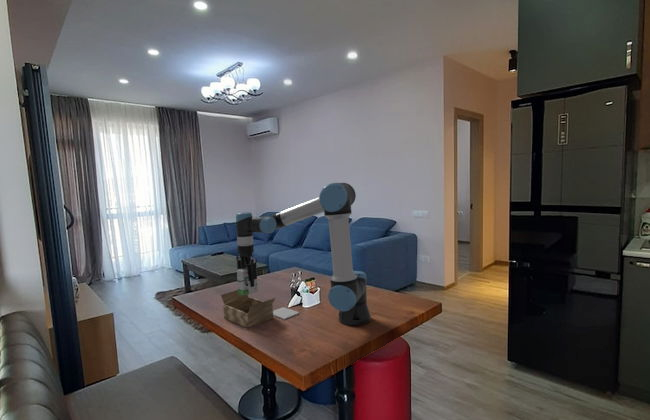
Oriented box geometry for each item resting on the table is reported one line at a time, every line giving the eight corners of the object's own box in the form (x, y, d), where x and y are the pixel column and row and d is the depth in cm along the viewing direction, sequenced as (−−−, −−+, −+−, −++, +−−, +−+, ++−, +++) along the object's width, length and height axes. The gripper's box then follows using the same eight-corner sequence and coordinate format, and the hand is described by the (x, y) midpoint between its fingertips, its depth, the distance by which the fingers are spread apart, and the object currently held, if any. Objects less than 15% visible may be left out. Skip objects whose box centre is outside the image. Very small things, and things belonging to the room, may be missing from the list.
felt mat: (299, 313, 170) (299, 312, 170) (284, 319, 162) (284, 318, 162) (283, 308, 178) (283, 307, 178) (268, 313, 170) (268, 312, 170)
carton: (277, 319, 164) (276, 297, 163) (251, 329, 152) (250, 306, 151) (246, 307, 180) (245, 287, 179) (220, 316, 169) (219, 295, 168)
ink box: (243, 296, 160) (242, 271, 160) (237, 294, 164) (236, 269, 163) (258, 291, 167) (257, 267, 166) (252, 289, 170) (251, 266, 169)
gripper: (263, 245, 160) (265, 293, 162) (241, 241, 172) (243, 287, 174) (250, 247, 155) (253, 297, 156) (228, 244, 167) (230, 290, 168)
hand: (248, 292), depth 165 cm, fingers closed on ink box, 5 cm apart
